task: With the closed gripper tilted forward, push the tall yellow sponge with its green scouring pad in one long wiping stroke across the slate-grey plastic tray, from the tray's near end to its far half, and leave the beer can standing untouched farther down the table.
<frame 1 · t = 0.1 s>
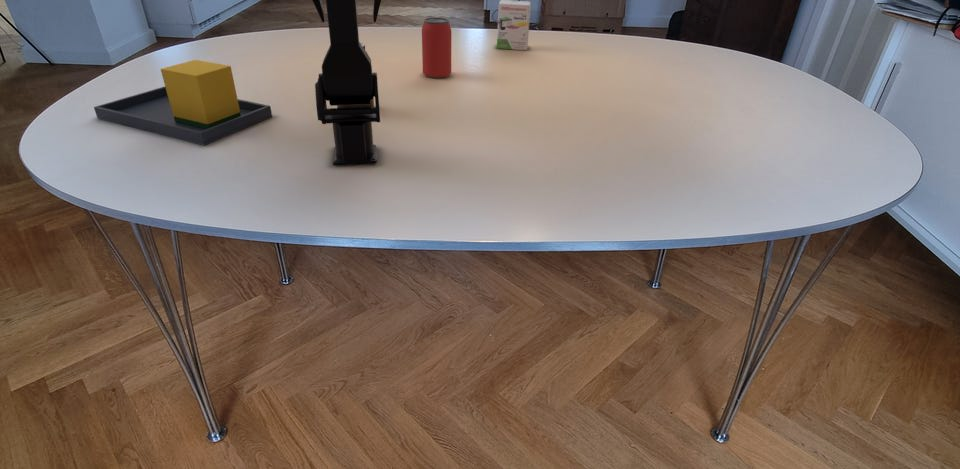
hand: (349, 21, 100), 15 cm above the table, tool pointing down, fingers open, 9 cm apart
sponge: (208, 119, 94), point 1 cm above the table, touching tray
beer can: (437, 75, 125), on the table
supplement bottle: (356, 111, 102), on the table
ink box: (512, 48, 151), on the table
tray: (186, 117, 96), on the table
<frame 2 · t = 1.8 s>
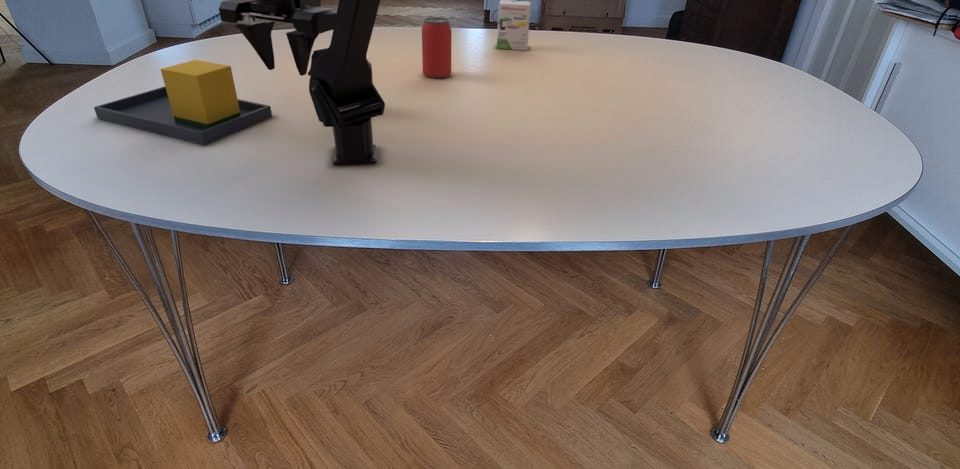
hand: (287, 72, 87), 10 cm above the table, tool pointing down, fingers open, 6 cm apart
nothing on the table moved.
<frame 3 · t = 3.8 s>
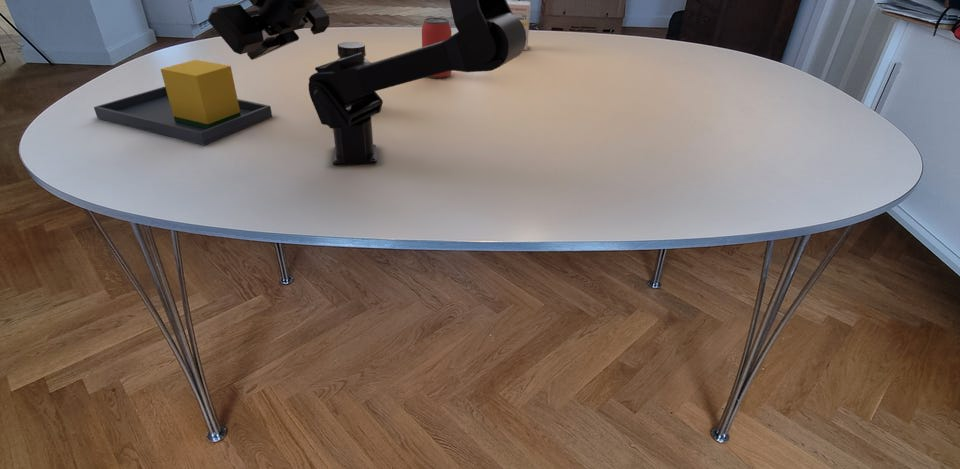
hand: (251, 56, 83), 13 cm above the table, tool tilted 45°, fingers closed
nothing on the table moved.
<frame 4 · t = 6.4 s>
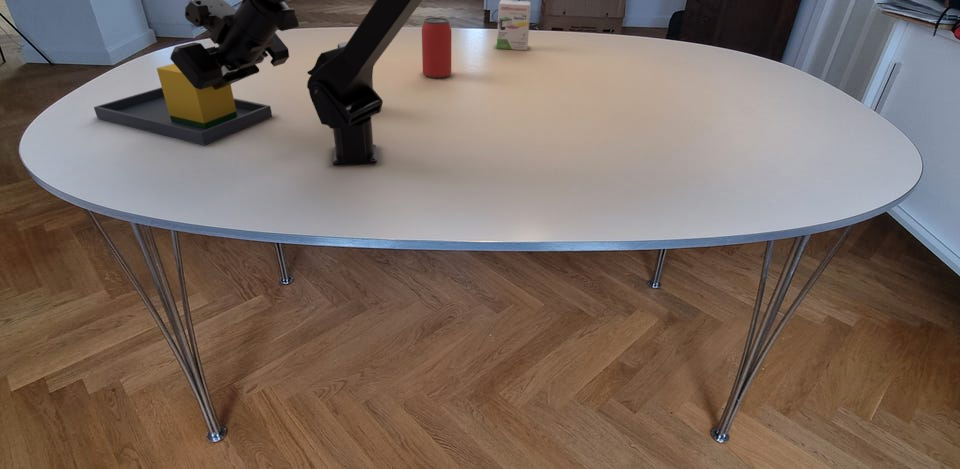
hand: (215, 87, 90), 7 cm above the table, tool tilted 45°, fingers closed, pressing on sponge
sponge: (204, 119, 94), point 1 cm above the table, touching gripper, tray
everything else where it was.
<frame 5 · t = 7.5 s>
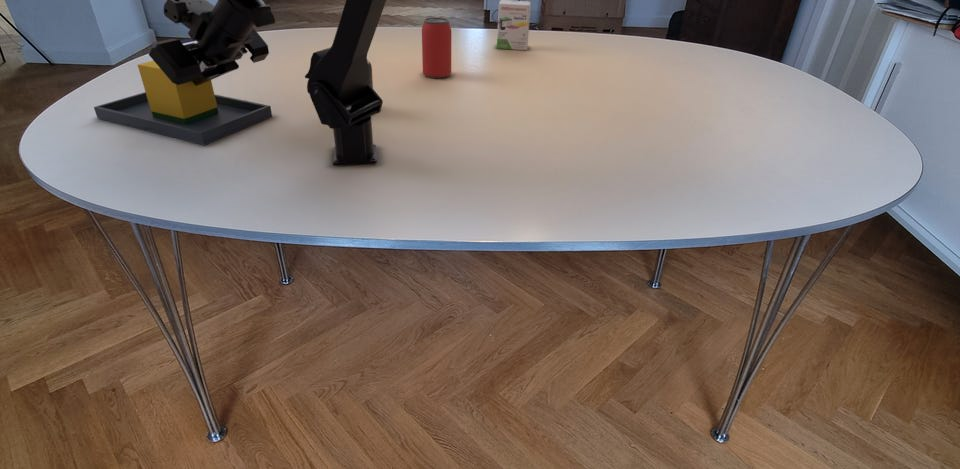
hand: (195, 83, 91), 7 cm above the table, tool tilted 45°, fingers closed
sponge: (186, 114, 96), point 1 cm above the table, touching tray
everything else where it was.
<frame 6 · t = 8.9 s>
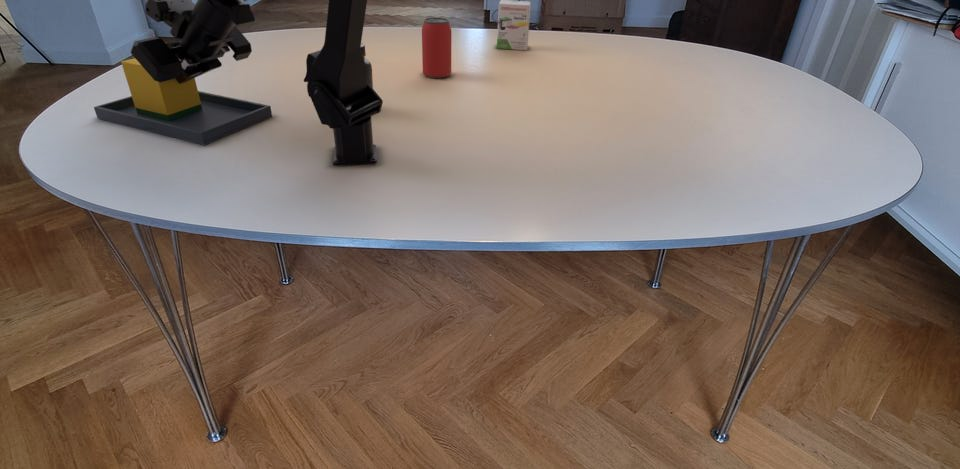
hand: (179, 81, 93), 7 cm above the table, tool tilted 45°, fingers closed
sponge: (170, 111, 97), point 1 cm above the table, touching tray
everything else where it was.
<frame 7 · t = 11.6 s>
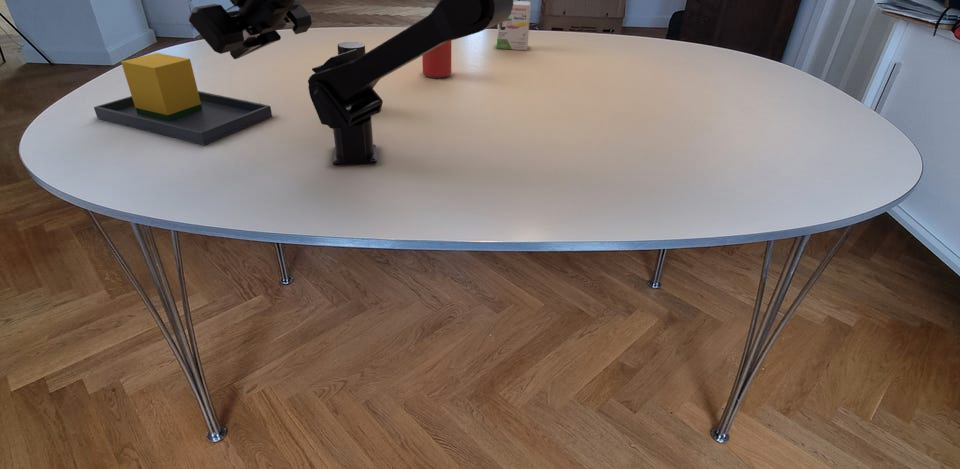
hand: (234, 56, 85), 12 cm above the table, tool tilted 45°, fingers closed
nothing on the table moved.
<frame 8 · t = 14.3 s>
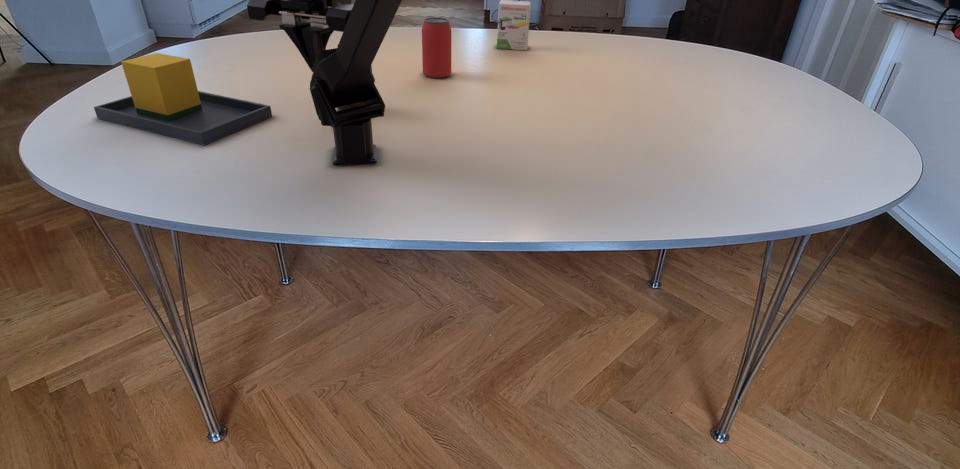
hand: (316, 72, 84), 11 cm above the table, tool pointing down, fingers closed
nothing on the table moved.
at the end: sponge inside the target area in the tray (1.0 cm from its centre), point 0.6 cm above the tray's base; sponge tilted 0°; beer can moved 0.2 cm from its start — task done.
